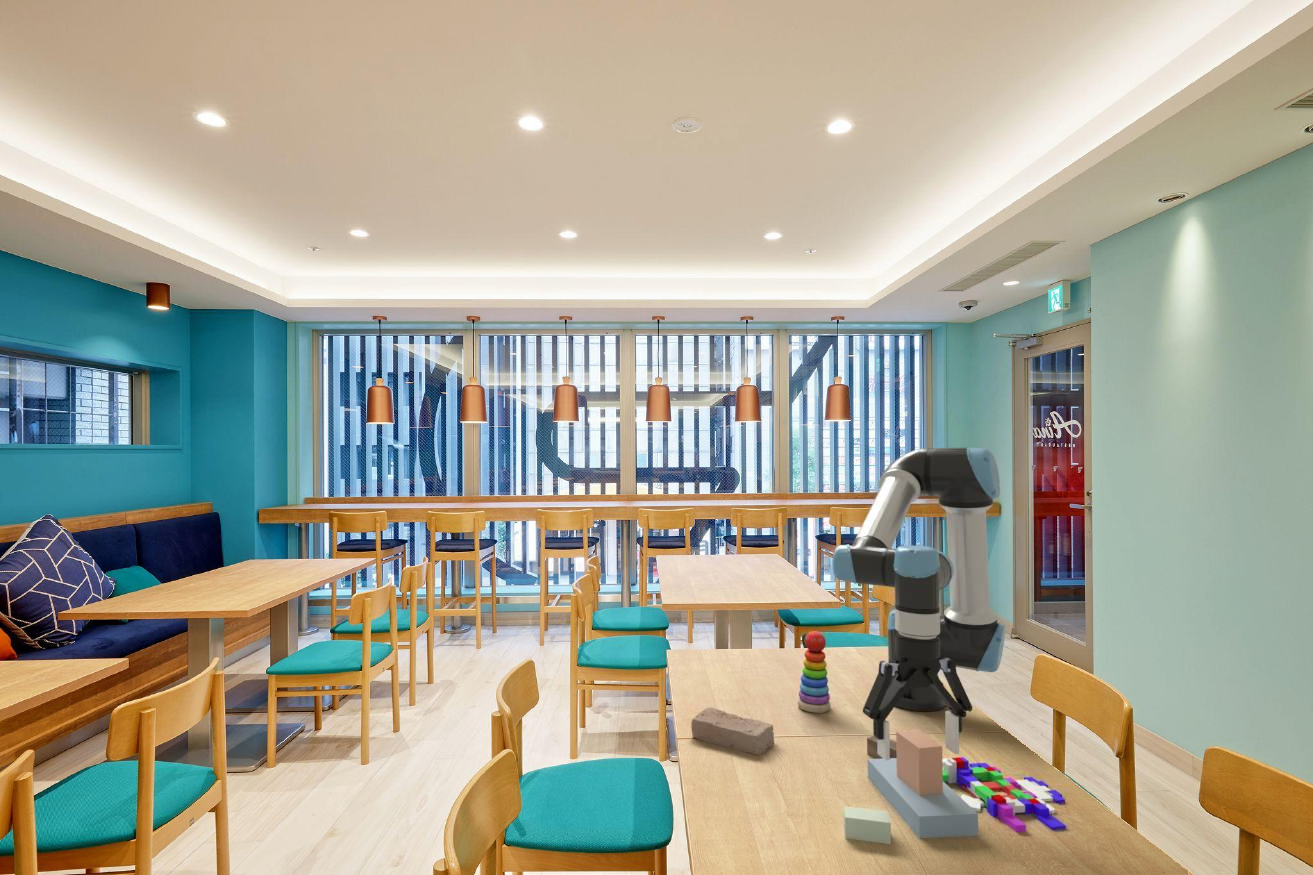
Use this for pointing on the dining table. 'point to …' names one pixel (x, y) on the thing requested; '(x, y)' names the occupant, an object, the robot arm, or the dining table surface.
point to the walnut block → (873, 748)
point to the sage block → (867, 825)
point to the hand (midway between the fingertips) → (918, 753)
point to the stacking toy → (814, 676)
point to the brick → (732, 731)
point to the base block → (923, 804)
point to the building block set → (1005, 804)
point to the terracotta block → (919, 762)
